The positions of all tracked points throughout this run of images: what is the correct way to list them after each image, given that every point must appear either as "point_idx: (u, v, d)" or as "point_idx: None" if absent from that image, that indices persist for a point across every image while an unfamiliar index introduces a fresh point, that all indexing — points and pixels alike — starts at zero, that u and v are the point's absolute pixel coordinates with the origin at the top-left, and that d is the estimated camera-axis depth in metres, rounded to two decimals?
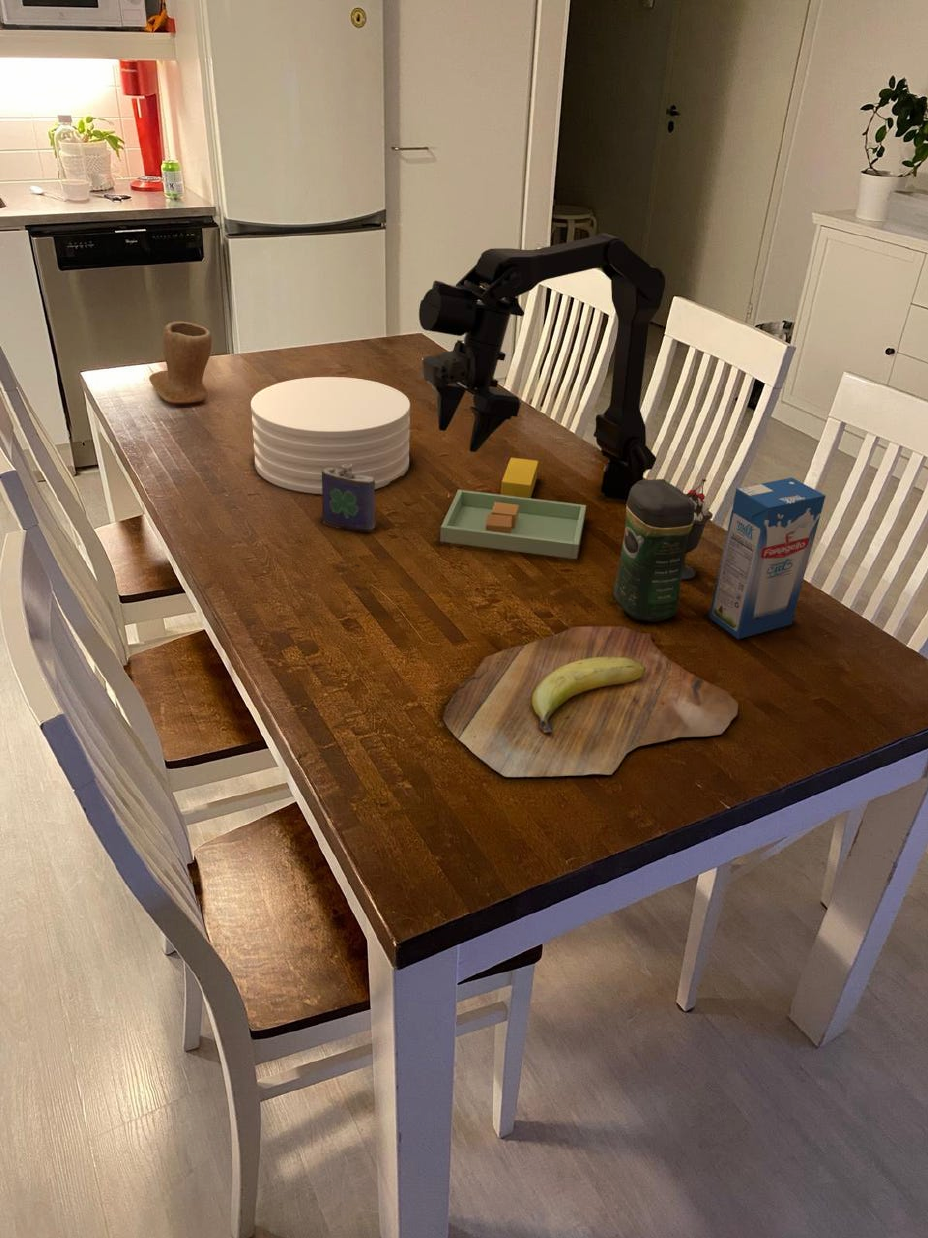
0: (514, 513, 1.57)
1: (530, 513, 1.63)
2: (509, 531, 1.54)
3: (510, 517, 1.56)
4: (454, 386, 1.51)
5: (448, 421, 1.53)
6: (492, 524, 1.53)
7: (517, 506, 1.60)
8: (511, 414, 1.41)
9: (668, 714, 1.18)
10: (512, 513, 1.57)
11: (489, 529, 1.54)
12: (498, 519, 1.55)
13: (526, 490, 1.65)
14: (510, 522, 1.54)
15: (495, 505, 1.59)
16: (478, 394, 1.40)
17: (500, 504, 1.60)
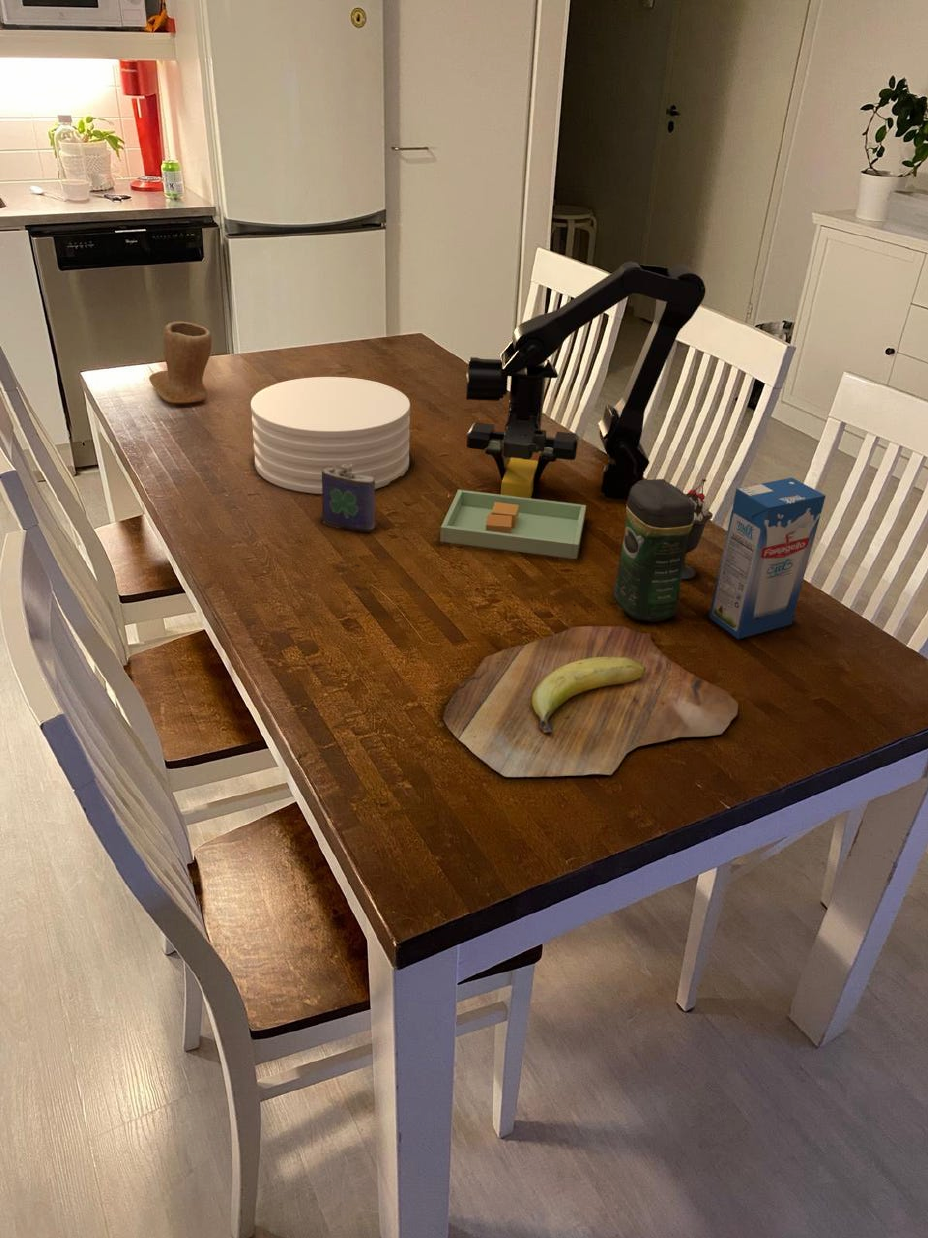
0: (514, 513, 1.57)
1: (530, 513, 1.63)
2: (509, 531, 1.54)
3: (510, 517, 1.56)
4: None
5: None
6: (492, 524, 1.53)
7: (517, 506, 1.60)
8: (577, 449, 1.67)
9: (668, 714, 1.18)
10: (512, 513, 1.57)
11: (489, 529, 1.54)
12: (498, 519, 1.55)
13: (527, 490, 1.65)
14: (510, 522, 1.54)
15: (495, 505, 1.59)
16: (558, 448, 1.63)
17: (500, 504, 1.60)
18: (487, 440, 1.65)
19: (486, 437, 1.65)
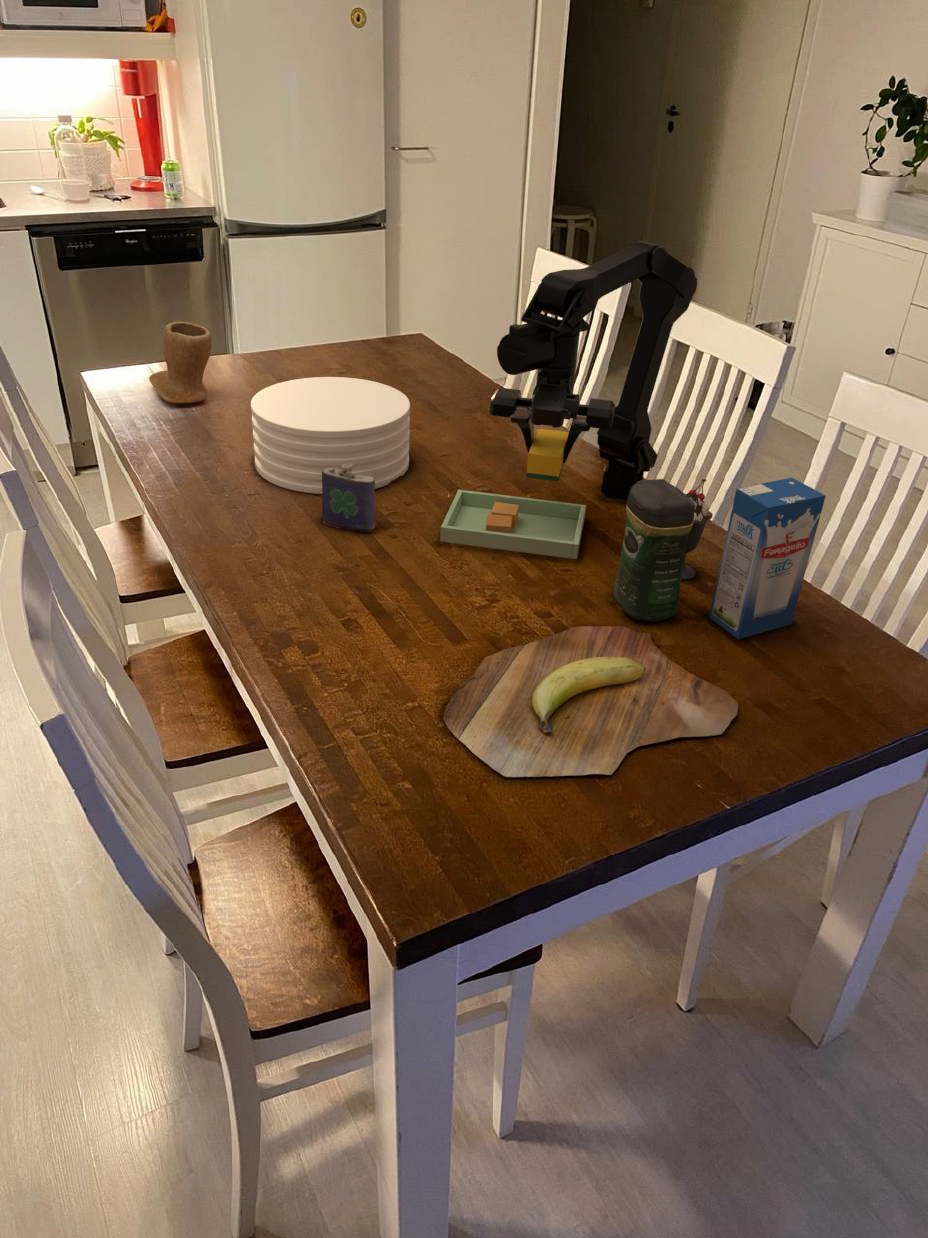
0: (514, 513, 1.57)
1: (530, 513, 1.63)
2: (509, 531, 1.54)
3: (510, 517, 1.56)
4: (531, 414, 1.51)
5: None
6: (492, 524, 1.53)
7: (517, 506, 1.60)
8: (613, 418, 1.50)
9: (668, 714, 1.18)
10: (512, 513, 1.57)
11: (489, 529, 1.54)
12: (498, 519, 1.55)
13: (556, 463, 1.48)
14: (510, 522, 1.54)
15: (495, 505, 1.59)
16: (592, 415, 1.46)
17: (500, 504, 1.60)
18: (513, 406, 1.48)
19: (511, 404, 1.48)
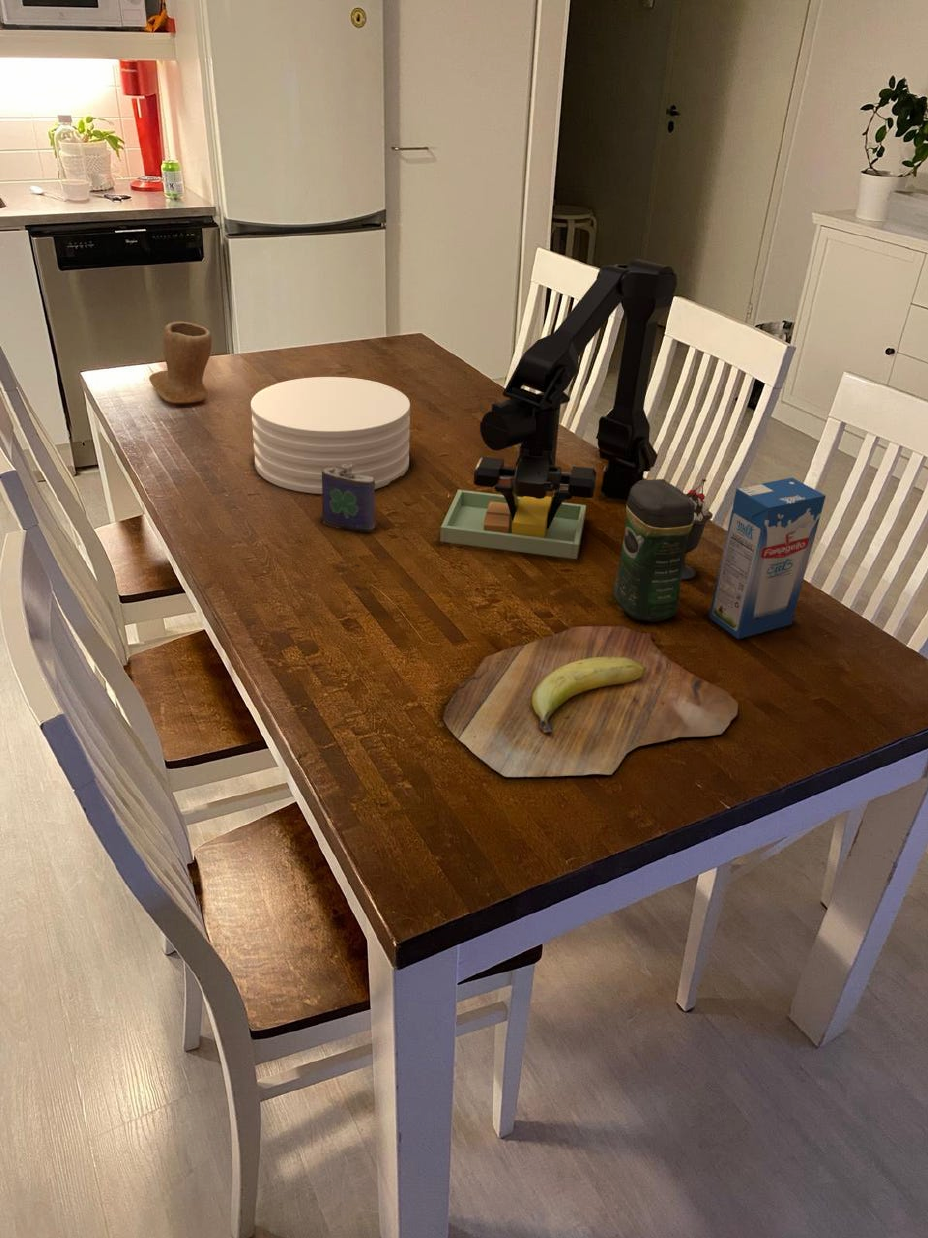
0: (509, 512, 1.57)
1: None
2: (507, 531, 1.54)
3: (508, 517, 1.56)
4: (514, 482, 1.54)
5: None
6: (489, 524, 1.53)
7: None
8: None
9: (668, 714, 1.18)
10: (507, 512, 1.57)
11: (487, 529, 1.54)
12: (496, 518, 1.55)
13: (540, 531, 1.51)
14: (508, 522, 1.54)
15: (490, 504, 1.60)
16: (574, 485, 1.49)
17: (495, 504, 1.60)
18: (496, 477, 1.50)
19: (495, 474, 1.50)
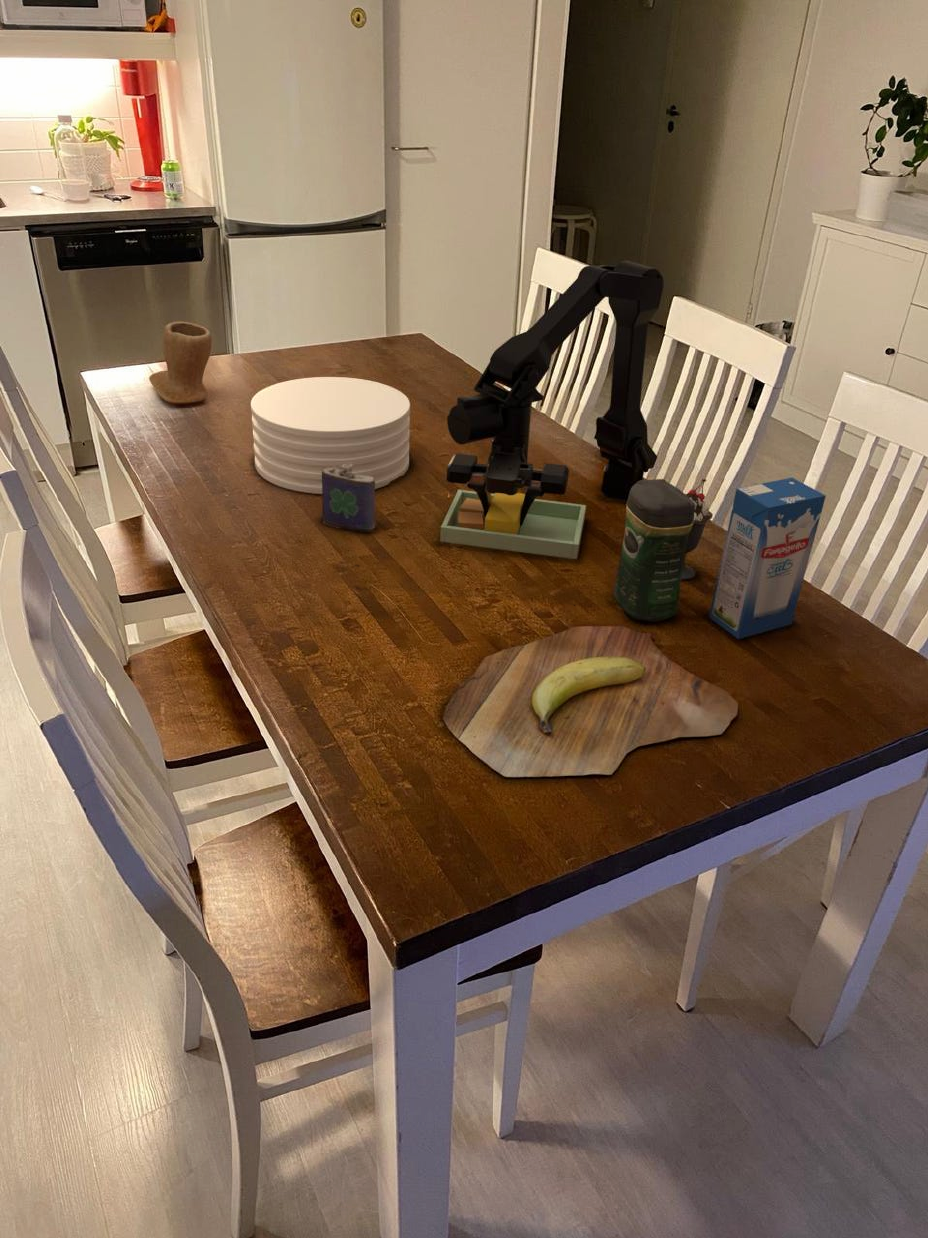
0: (482, 509, 1.58)
1: (530, 513, 1.63)
2: (481, 528, 1.54)
3: (481, 514, 1.56)
4: None
5: None
6: (464, 522, 1.54)
7: None
8: (567, 482, 1.54)
9: (668, 714, 1.18)
10: (480, 509, 1.58)
11: (461, 526, 1.54)
12: (470, 516, 1.56)
13: (512, 528, 1.52)
14: (482, 519, 1.55)
15: (465, 501, 1.60)
16: (546, 482, 1.49)
17: (470, 500, 1.61)
18: (469, 474, 1.51)
19: (467, 471, 1.51)
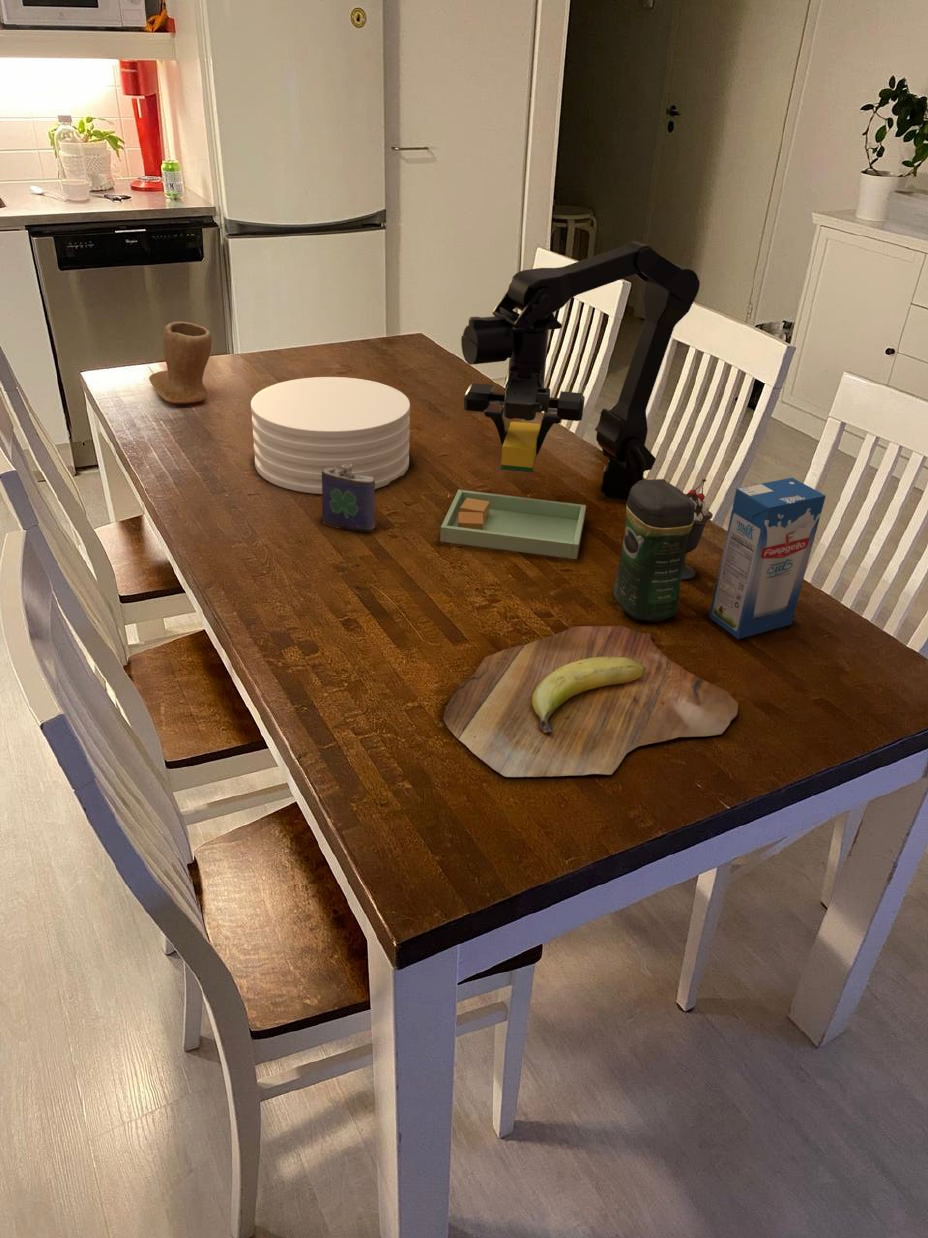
0: (482, 509, 1.58)
1: (530, 513, 1.63)
2: (481, 528, 1.54)
3: (481, 514, 1.56)
4: (504, 408, 1.57)
5: None
6: (464, 522, 1.54)
7: (487, 503, 1.60)
8: None
9: (668, 714, 1.18)
10: (480, 509, 1.58)
11: None
12: (470, 516, 1.56)
13: (529, 454, 1.53)
14: (482, 519, 1.55)
15: (465, 501, 1.60)
16: (563, 408, 1.51)
17: (470, 500, 1.61)
18: (486, 401, 1.52)
19: (485, 398, 1.53)
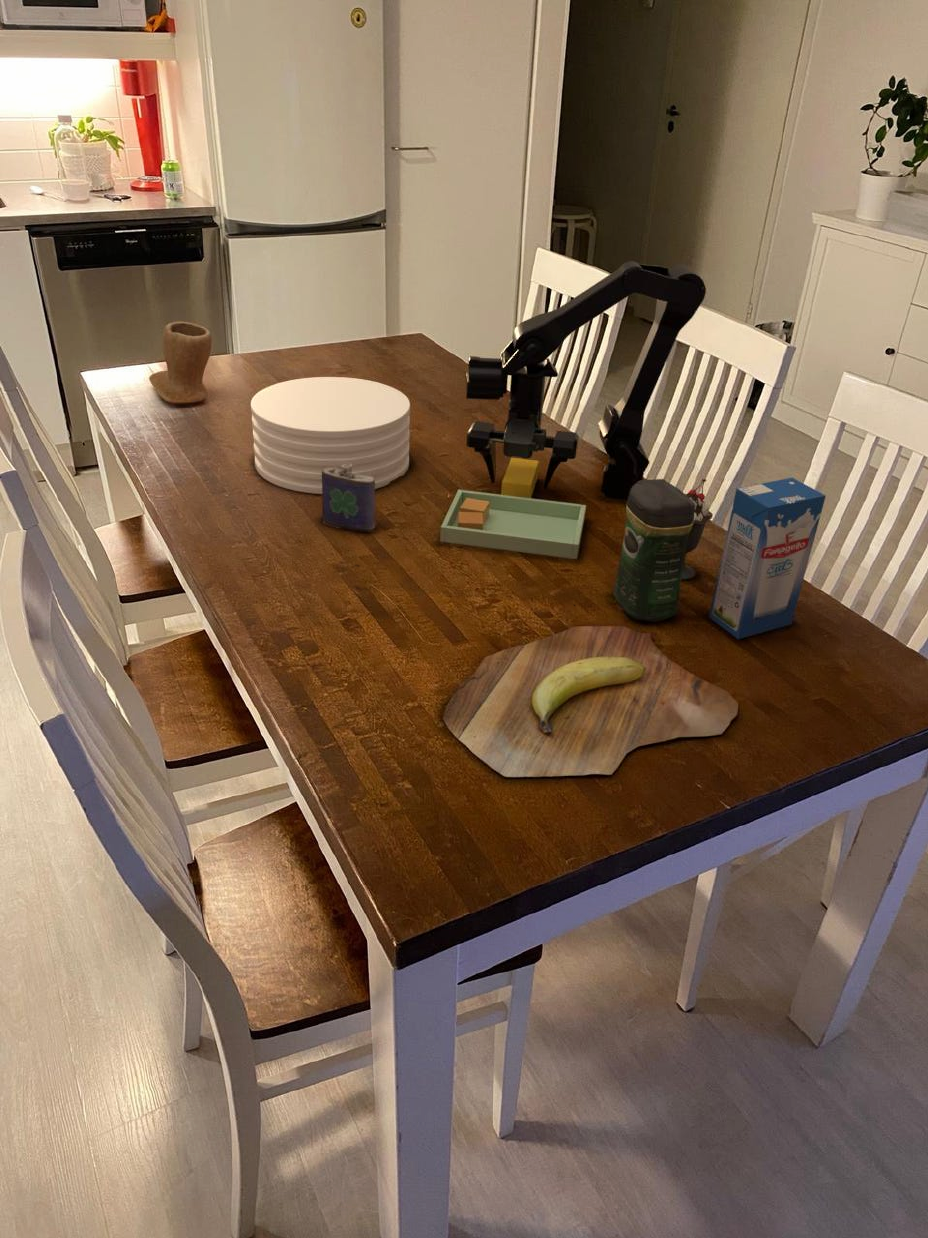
0: (482, 509, 1.58)
1: (530, 513, 1.63)
2: (481, 528, 1.54)
3: (481, 514, 1.56)
4: (492, 443, 1.69)
5: (495, 473, 1.72)
6: (464, 522, 1.54)
7: (487, 503, 1.60)
8: (577, 448, 1.67)
9: (668, 714, 1.18)
10: (480, 509, 1.58)
11: None
12: (470, 516, 1.56)
13: (527, 490, 1.65)
14: (482, 519, 1.55)
15: (465, 501, 1.60)
16: (558, 447, 1.63)
17: (470, 500, 1.61)
18: (487, 439, 1.65)
19: (486, 436, 1.65)
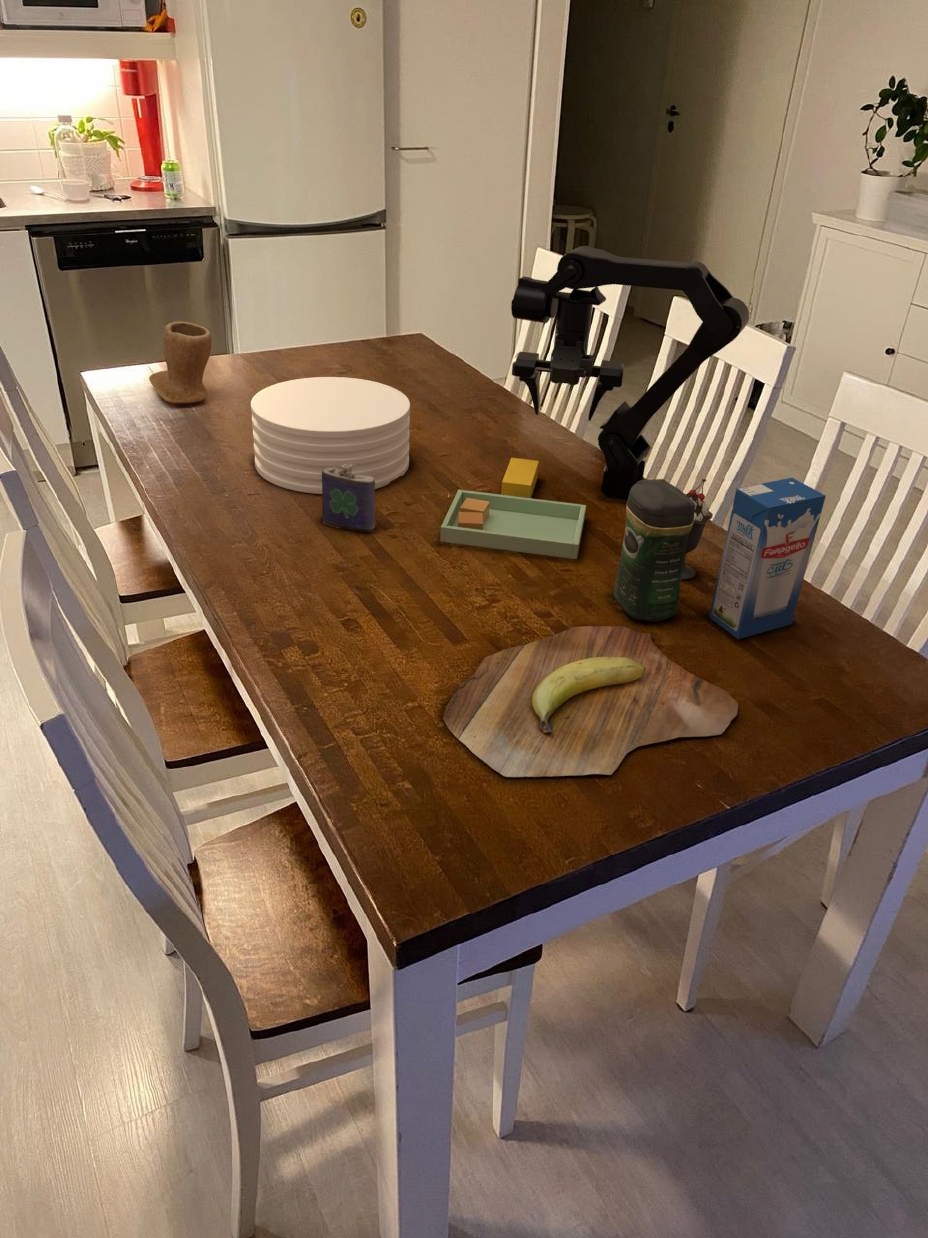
0: (482, 509, 1.58)
1: (530, 513, 1.63)
2: (481, 528, 1.54)
3: (481, 514, 1.56)
4: (537, 373, 1.68)
5: (539, 404, 1.71)
6: (464, 522, 1.54)
7: (487, 503, 1.60)
8: None
9: (668, 714, 1.18)
10: (480, 509, 1.58)
11: None
12: (470, 516, 1.56)
13: (527, 490, 1.65)
14: (482, 519, 1.55)
15: (465, 501, 1.60)
16: (605, 375, 1.62)
17: (470, 500, 1.61)
18: (533, 367, 1.64)
19: (531, 365, 1.64)
